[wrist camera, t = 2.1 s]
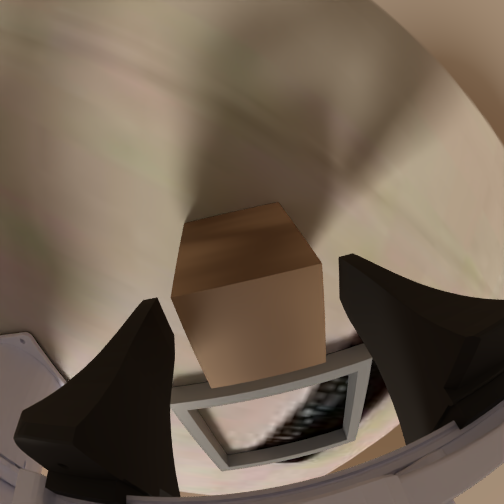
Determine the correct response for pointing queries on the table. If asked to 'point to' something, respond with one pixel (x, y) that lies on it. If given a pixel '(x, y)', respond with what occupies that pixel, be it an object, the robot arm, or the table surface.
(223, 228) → the walnut block
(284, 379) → the tray frame
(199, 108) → the table surface
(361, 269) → the robot arm
